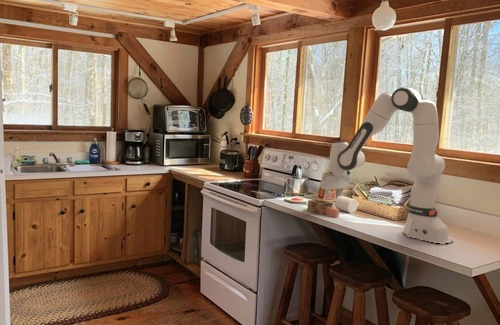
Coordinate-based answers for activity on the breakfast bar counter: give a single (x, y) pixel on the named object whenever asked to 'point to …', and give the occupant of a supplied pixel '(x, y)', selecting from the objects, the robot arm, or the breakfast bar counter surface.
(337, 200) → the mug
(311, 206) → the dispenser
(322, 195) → the milk carton
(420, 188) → the robot arm
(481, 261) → the breakfast bar counter surface
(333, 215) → the orange rectangular bar
